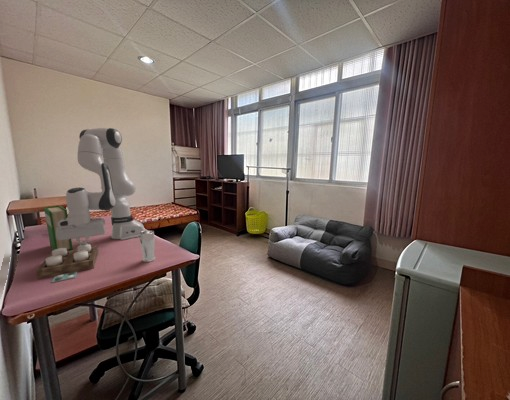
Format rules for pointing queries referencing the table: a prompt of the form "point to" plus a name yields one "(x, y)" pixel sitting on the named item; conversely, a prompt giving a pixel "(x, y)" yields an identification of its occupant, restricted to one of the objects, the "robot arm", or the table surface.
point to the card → (64, 277)
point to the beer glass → (147, 245)
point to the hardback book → (52, 219)
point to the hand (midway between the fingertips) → (83, 245)
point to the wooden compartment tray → (68, 264)
